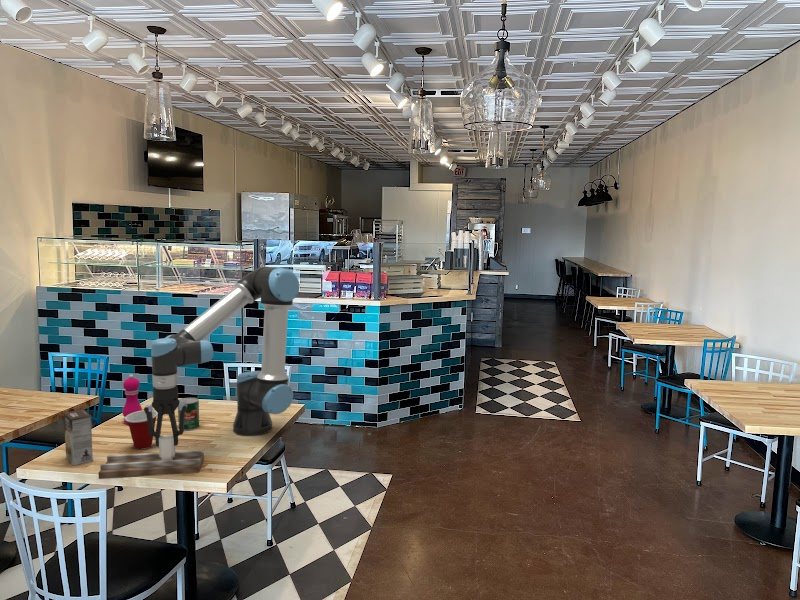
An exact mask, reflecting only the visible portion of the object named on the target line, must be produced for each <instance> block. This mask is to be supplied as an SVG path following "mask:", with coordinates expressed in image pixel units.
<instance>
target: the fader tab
mask: <svg viewBox="0 0 800 600" xmlns="http://www.w3.org/2000/svg"><path fill="white" fill-rule="evenodd" d="M172 435H173V434H163V437H162V438H161V460H162V461H165V460H173V458H174V457H172V455H171V437H172Z"/></svg>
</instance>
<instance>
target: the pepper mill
mask: <svg viewBox="0 0 800 600" xmlns="http://www.w3.org/2000/svg"><path fill="white" fill-rule="evenodd" d="M122 387H123V389H124V395H125V404H124V406H123V408H122V416H123V417H124V420H123V422H124V424H125V425H128V423H127V421H126V420H125V417H126V416H127V415H129V414H131V413H134V412H137V411H143V408H142V405H141V404H140V401H139V398H138V394H139V387H140V380H139V379H138V378H136V377H134V375H133V374H132V373H131V374H129V375H128V378H126V379H125V380H124V381H123V383H122ZM128 426H129V425H128Z"/></svg>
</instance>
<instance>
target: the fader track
mask: <svg viewBox="0 0 800 600" xmlns="http://www.w3.org/2000/svg"><path fill="white" fill-rule="evenodd" d="M204 453H205V452H204V450H189V451H175V455H174V458H173V460H165V461H162V460H161V457H159V452H153V453H150V452H149V453H131V454H130V453H129V454H115V455H114V454H113V455H107V457H106V462H105V463H101V464H100V465H99V467H100V470H99V472H98V479H100V480H101V479H111V478H112V479H113V478H130V477H132V478H134V477H147V476H160V475H162V476H163V475H179V474H180V475H181V474H194V473H200V470H201V468H202V465H203V462H204V459H205V454H204Z"/></svg>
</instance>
